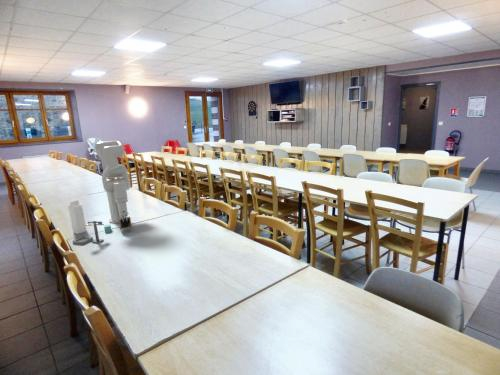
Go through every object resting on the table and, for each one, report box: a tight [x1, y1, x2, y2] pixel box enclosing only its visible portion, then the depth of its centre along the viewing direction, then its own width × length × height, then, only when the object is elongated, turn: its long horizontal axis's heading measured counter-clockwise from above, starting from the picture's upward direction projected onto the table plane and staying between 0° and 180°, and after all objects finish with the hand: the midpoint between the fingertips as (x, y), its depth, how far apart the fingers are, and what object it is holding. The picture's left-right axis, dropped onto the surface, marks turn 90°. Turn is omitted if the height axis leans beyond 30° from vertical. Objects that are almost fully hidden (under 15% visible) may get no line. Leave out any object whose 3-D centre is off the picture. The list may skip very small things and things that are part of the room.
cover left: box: [118, 216, 133, 231], centre depth 207 cm, size 7×7×7 cm
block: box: [103, 224, 112, 233], centre depth 209 cm, size 4×4×4 cm
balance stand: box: [91, 223, 104, 244], centre depth 190 cm, size 5×4×12 cm
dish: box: [72, 236, 94, 246], centre depth 193 cm, size 8×8×2 cm
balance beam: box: [84, 220, 105, 227], centre depth 189 cm, size 4×13×2 cm, turn 161°
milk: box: [67, 200, 88, 235], centre depth 209 cm, size 6×6×22 cm
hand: (125, 225), depth 208 cm, fingers closed on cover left, 6 cm apart
